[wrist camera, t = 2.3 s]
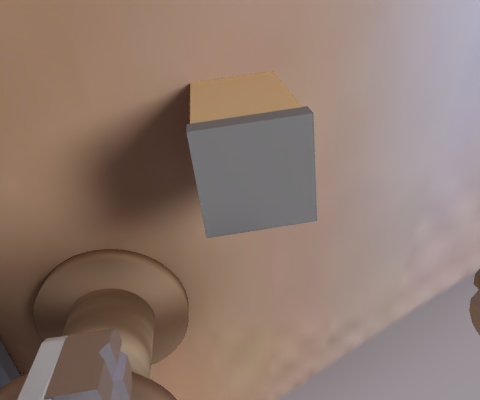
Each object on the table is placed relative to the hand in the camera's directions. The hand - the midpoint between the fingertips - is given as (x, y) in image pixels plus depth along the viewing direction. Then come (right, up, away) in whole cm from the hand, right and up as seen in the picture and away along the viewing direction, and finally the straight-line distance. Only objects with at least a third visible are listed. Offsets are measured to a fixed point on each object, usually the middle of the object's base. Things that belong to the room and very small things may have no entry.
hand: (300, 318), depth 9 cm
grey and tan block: (-2, +7, +12) cm, 13 cm away
